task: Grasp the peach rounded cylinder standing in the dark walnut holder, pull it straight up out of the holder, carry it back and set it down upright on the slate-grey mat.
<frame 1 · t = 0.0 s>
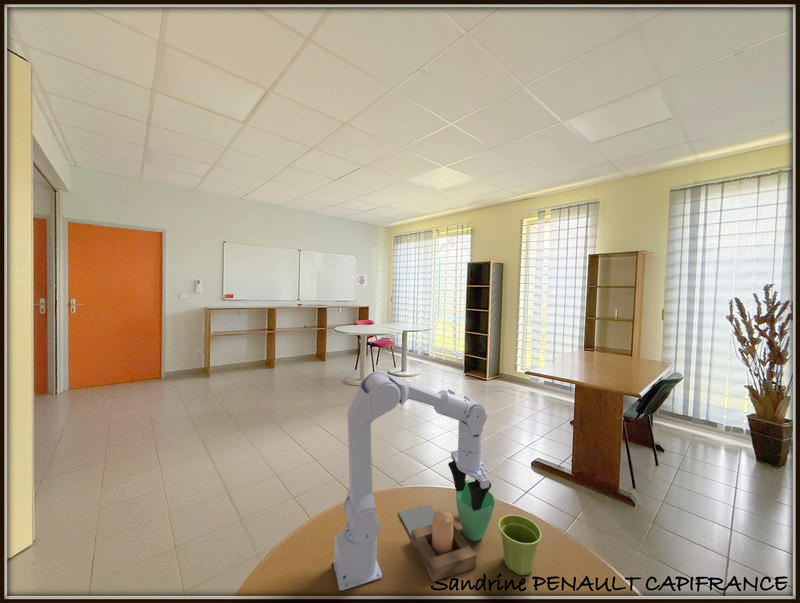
hand: (467, 499, 83), 10 cm above the table, tool pointing down, fingers open, 7 cm apart
mat: (421, 521, 89), on the table
holder: (442, 553, 78), on the table
plant pot: (518, 564, 76), on the table
peach rounded cylinder: (441, 554, 78), resting in holder
mug: (471, 528, 87), on the table, touching gripper
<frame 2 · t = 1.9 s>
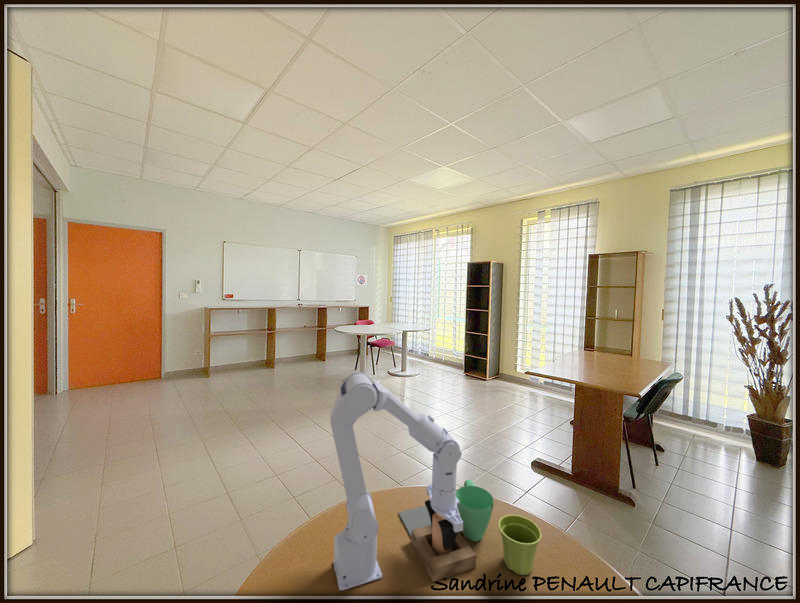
hand: (442, 539, 78), 4 cm above the table, tool pointing down, fingers closed on peach rounded cylinder, 5 cm apart
peach rounded cylinder: (441, 554, 78), resting in holder, touching gripper
mug: (471, 528, 87), on the table
everything else where it was.
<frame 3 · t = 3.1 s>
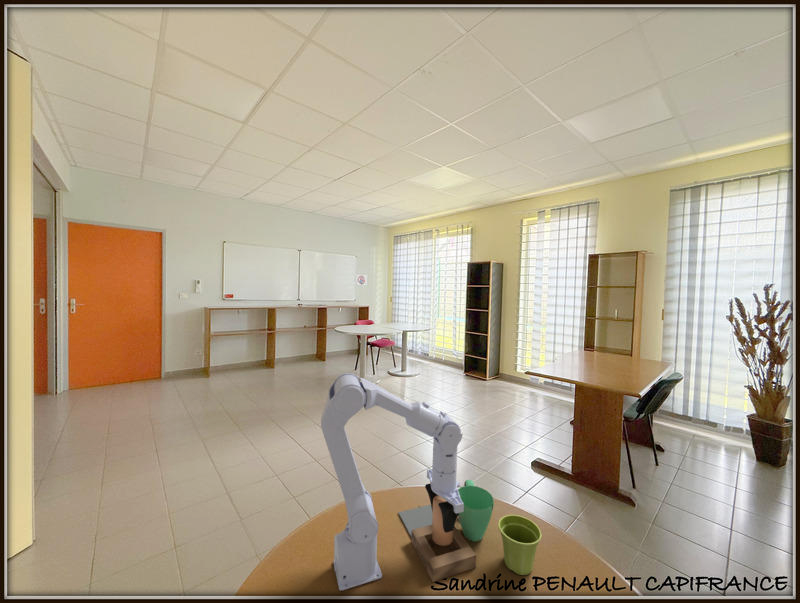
hand: (442, 522, 78), 8 cm above the table, tool pointing down, fingers closed on peach rounded cylinder, 5 cm apart
peach rounded cylinder: (442, 537, 78), point 4 cm above the table, touching gripper
everything else where it was.
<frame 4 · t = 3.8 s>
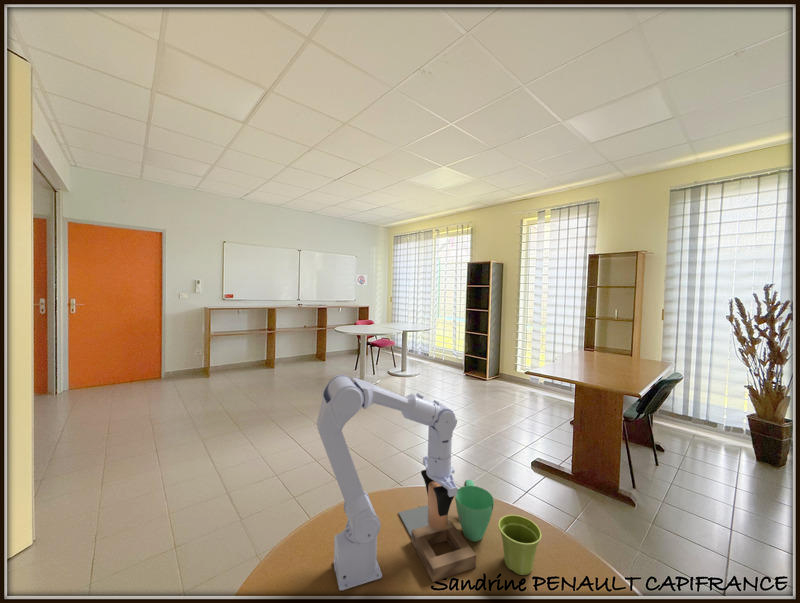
hand: (437, 507, 80), 10 cm above the table, tool pointing down, fingers closed on peach rounded cylinder, 5 cm apart
peach rounded cylinder: (437, 521, 80), point 6 cm above the table, touching gripper
everything else where it was.
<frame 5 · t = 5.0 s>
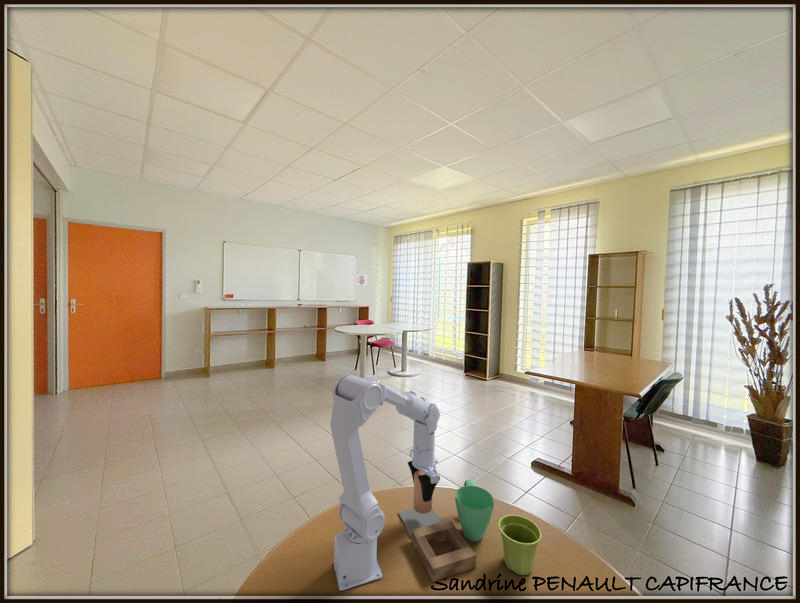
hand: (422, 494, 89), 8 cm above the table, tool pointing down, fingers closed on peach rounded cylinder, 5 cm apart
peach rounded cylinder: (422, 507, 89), point 4 cm above the table, touching gripper
everything else where it was.
when the fingers open (5 cm above the table, at t = 6.0 s): peach rounded cylinder drops 1 cm, resting on mat.
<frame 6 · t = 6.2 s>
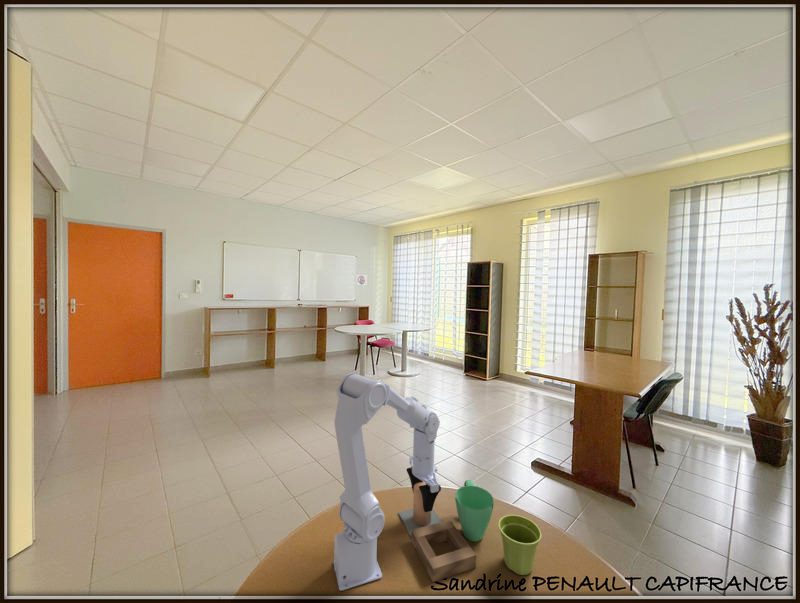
hand: (422, 502, 89), 5 cm above the table, tool pointing down, fingers open, 6 cm apart
peach rounded cylinder: (421, 519, 89), resting on mat
everything else where it was.
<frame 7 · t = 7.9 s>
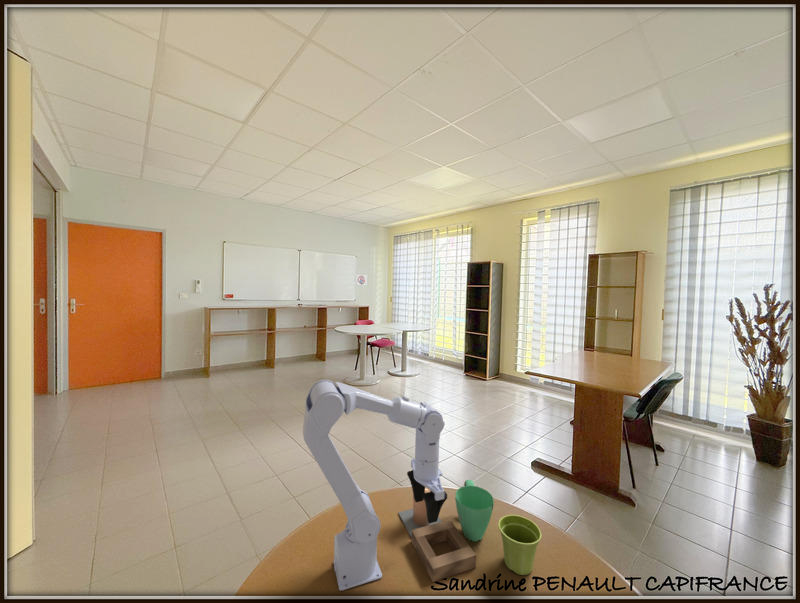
hand: (425, 510, 79), 10 cm above the table, tool pointing down, fingers open, 7 cm apart
nothing on the table moved.
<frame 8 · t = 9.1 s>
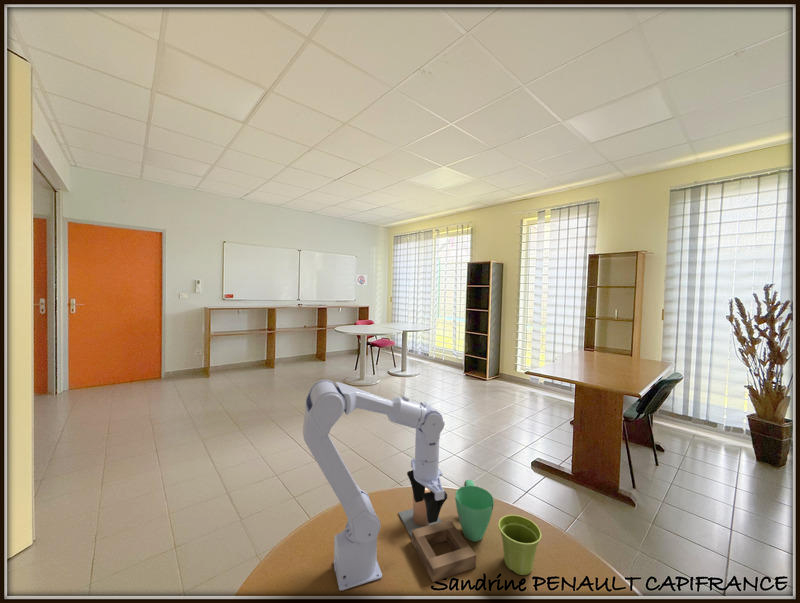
hand: (425, 510, 79), 10 cm above the table, tool pointing down, fingers open, 7 cm apart
nothing on the table moved.
at the end: peach rounded cylinder inside the target area on the mat (0.1 cm from its centre), point 0.5 cm above the mat's base; peach rounded cylinder tilted 2°; the gripper is holding nothing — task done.
